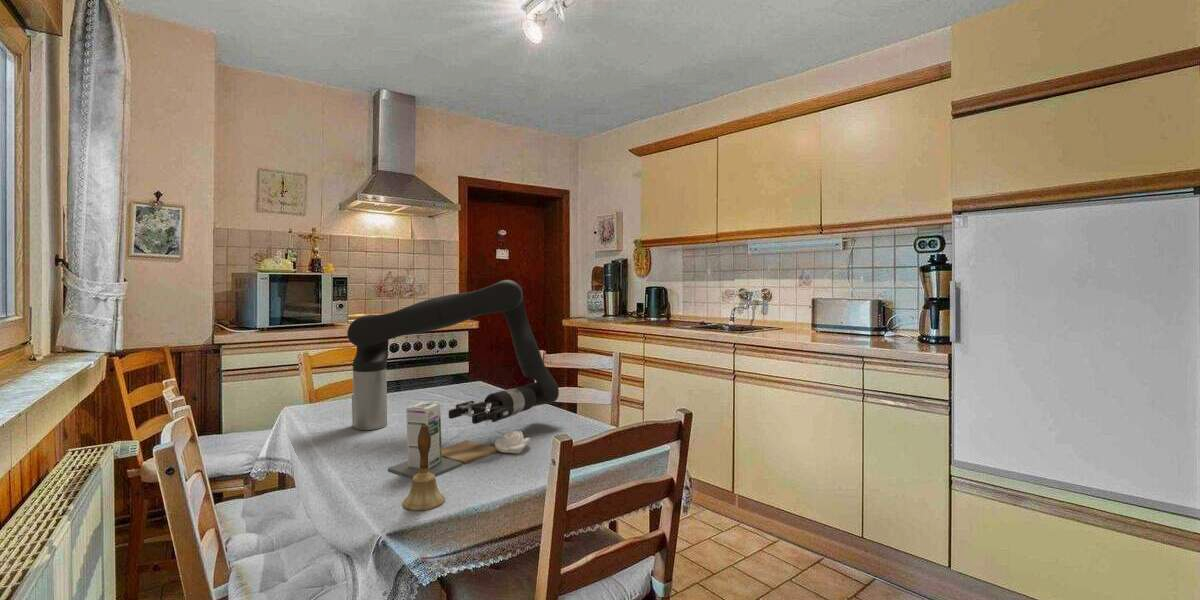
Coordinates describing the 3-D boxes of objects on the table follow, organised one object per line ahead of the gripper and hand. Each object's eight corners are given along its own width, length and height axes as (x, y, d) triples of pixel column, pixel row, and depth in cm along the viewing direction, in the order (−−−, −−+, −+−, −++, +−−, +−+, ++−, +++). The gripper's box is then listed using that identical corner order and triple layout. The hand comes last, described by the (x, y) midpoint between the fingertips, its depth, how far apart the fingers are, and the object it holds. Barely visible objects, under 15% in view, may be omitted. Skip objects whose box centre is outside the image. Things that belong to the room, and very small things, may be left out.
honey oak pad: (431, 454, 141) (431, 452, 141) (466, 442, 151) (466, 440, 151) (465, 464, 135) (465, 461, 135) (499, 450, 145) (499, 448, 145)
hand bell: (433, 490, 119) (432, 417, 118) (452, 502, 113) (451, 425, 112) (395, 501, 113) (394, 424, 112) (413, 515, 107) (412, 434, 106)
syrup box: (428, 470, 129) (427, 408, 128) (406, 467, 131) (405, 406, 130) (442, 461, 135) (441, 402, 134) (421, 459, 136) (420, 401, 135)
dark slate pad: (387, 470, 130) (387, 467, 130) (428, 455, 140) (428, 453, 140) (422, 481, 124) (422, 478, 124) (462, 465, 134) (462, 462, 134)
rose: (538, 435, 144) (503, 439, 139) (537, 452, 144) (502, 456, 139) (523, 424, 153) (490, 426, 148) (522, 439, 153) (488, 442, 148)
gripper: (486, 387, 158) (441, 399, 145) (524, 394, 151) (481, 406, 137) (486, 413, 159) (442, 427, 145) (524, 421, 151) (481, 436, 137)
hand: (461, 417), depth 141 cm, fingers open, 8 cm apart
